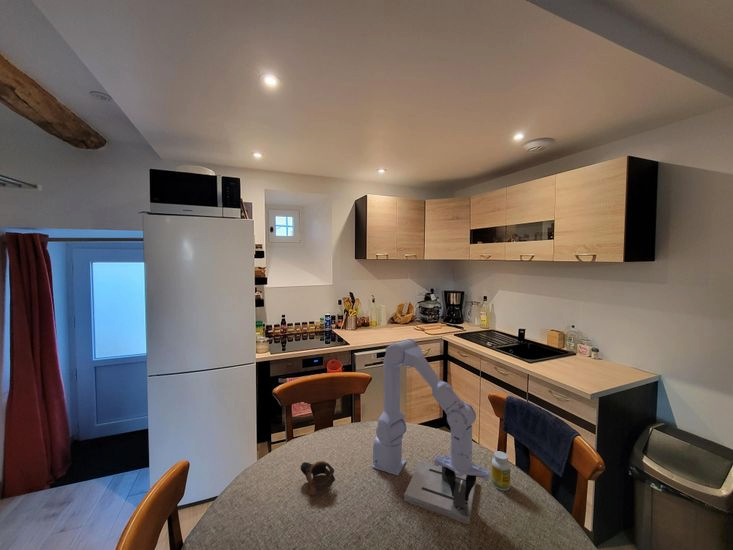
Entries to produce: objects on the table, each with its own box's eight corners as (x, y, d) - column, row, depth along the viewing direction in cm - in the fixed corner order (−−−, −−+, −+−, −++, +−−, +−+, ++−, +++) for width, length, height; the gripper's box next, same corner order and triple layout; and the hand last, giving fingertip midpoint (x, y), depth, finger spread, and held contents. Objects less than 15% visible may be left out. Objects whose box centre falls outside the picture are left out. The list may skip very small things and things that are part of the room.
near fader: (453, 504, 82) (453, 489, 82) (456, 492, 86) (456, 478, 86) (464, 508, 80) (464, 493, 80) (467, 495, 85) (467, 481, 85)
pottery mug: (339, 477, 96) (340, 464, 92) (325, 509, 89) (326, 496, 84) (306, 461, 99) (306, 448, 95) (291, 490, 92) (290, 478, 87)
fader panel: (404, 500, 86) (404, 493, 86) (420, 465, 101) (420, 459, 101) (469, 524, 78) (469, 517, 78) (476, 482, 93) (476, 476, 93)
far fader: (441, 478, 92) (442, 464, 92) (445, 468, 97) (445, 455, 96) (451, 481, 91) (451, 467, 91) (454, 471, 95) (454, 458, 95)
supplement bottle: (497, 476, 96) (498, 447, 96) (513, 486, 92) (514, 456, 92) (487, 483, 93) (488, 453, 93) (503, 494, 89) (504, 462, 89)
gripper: (432, 449, 83) (431, 497, 83) (488, 465, 76) (487, 516, 77) (437, 436, 89) (437, 480, 89) (489, 450, 83) (488, 497, 83)
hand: (460, 496), depth 83 cm, fingers closed on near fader, 3 cm apart
